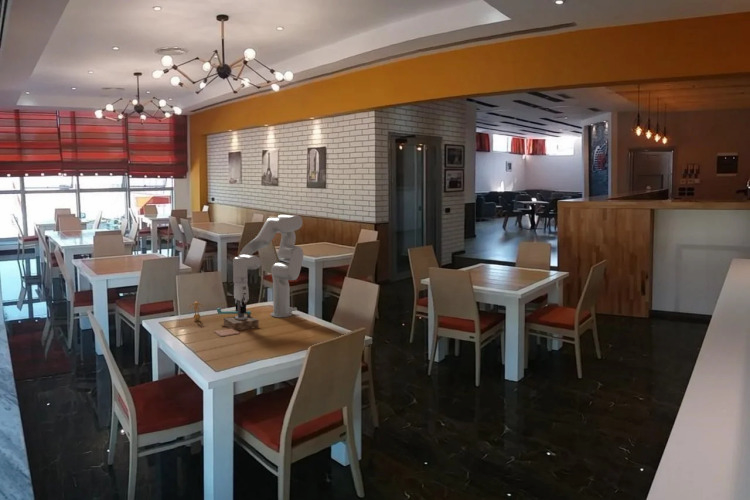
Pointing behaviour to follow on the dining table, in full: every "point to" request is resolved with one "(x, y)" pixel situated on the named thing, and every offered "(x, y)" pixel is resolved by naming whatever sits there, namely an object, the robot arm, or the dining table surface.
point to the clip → (230, 312)
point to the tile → (226, 332)
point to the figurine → (196, 316)
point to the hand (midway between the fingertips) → (240, 311)
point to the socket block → (241, 323)
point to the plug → (240, 316)
